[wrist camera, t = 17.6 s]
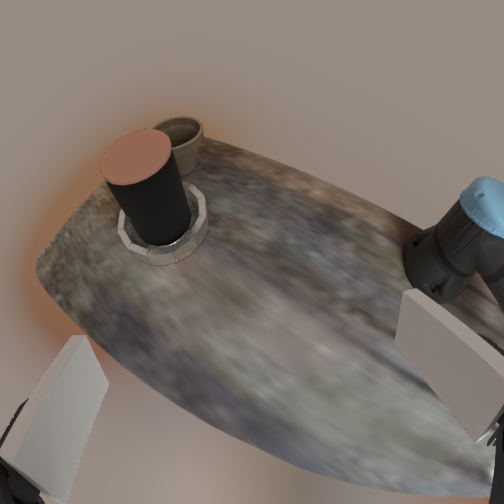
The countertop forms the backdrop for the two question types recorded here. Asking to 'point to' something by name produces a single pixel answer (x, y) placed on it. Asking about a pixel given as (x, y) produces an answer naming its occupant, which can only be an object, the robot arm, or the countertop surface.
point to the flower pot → (183, 140)
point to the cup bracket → (178, 248)
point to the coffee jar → (148, 185)
